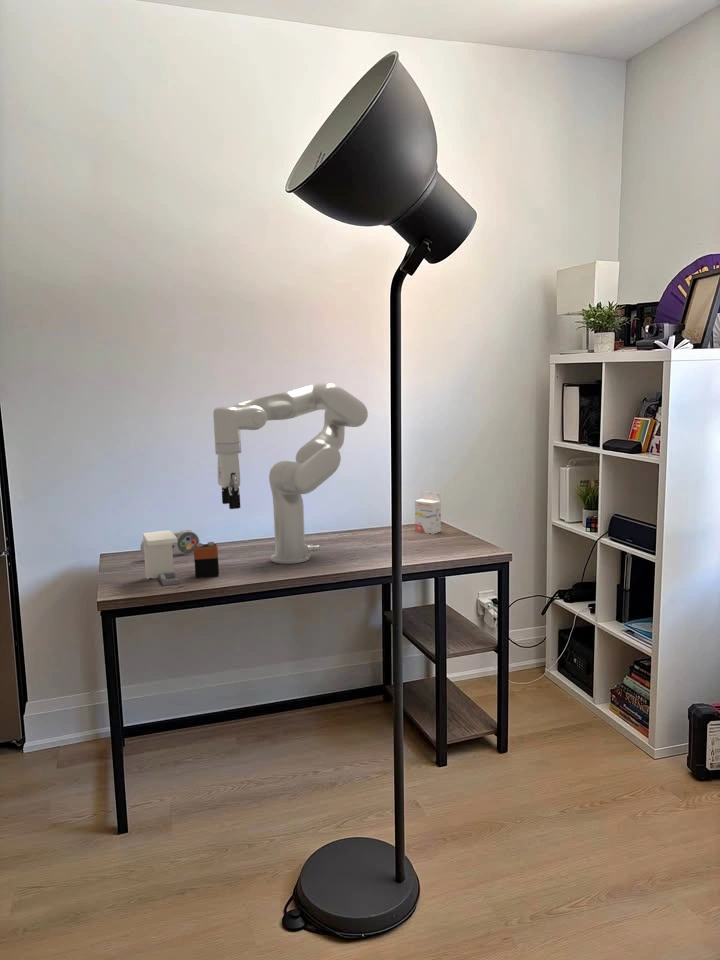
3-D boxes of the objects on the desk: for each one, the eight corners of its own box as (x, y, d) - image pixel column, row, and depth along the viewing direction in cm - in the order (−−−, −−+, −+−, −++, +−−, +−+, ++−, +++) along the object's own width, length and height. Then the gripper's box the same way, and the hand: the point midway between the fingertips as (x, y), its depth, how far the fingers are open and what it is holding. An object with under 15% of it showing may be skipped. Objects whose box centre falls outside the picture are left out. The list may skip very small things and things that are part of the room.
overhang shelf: (173, 574, 221) (170, 530, 219) (180, 584, 210) (177, 538, 208) (146, 578, 218) (142, 533, 216) (151, 588, 207) (148, 541, 205)
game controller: (143, 562, 237) (141, 537, 236) (141, 561, 239) (139, 536, 238) (200, 553, 248) (199, 528, 246) (198, 551, 250) (196, 527, 248)
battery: (218, 576, 218) (217, 543, 216) (195, 578, 217) (193, 545, 215) (219, 572, 222) (217, 540, 221) (196, 574, 221) (194, 542, 219)
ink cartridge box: (414, 531, 270) (413, 492, 268) (421, 529, 274) (421, 490, 272) (434, 534, 265) (433, 494, 263) (441, 531, 269) (441, 492, 267)
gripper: (209, 447, 224) (212, 502, 226) (221, 452, 208) (225, 512, 210) (234, 445, 227) (236, 500, 229) (247, 450, 211) (250, 509, 213)
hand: (231, 505), depth 220 cm, fingers open, 9 cm apart
